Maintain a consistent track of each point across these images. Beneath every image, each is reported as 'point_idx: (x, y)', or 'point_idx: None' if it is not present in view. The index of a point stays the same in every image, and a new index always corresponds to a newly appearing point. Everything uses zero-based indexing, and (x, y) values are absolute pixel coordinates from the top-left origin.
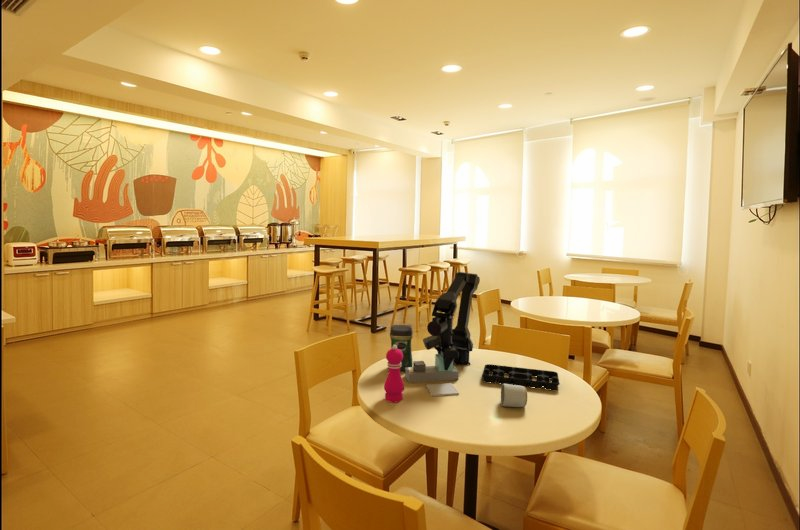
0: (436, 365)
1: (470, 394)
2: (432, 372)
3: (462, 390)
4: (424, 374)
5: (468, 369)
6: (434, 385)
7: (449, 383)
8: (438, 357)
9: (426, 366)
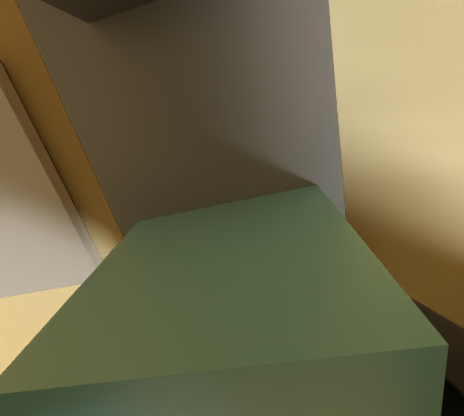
0: (249, 215)
1: (3, 350)
2: (93, 140)
3: (39, 321)
4: (34, 11)
5: None
6: (2, 146)
7: (90, 266)
8: (107, 392)
9: (321, 42)
